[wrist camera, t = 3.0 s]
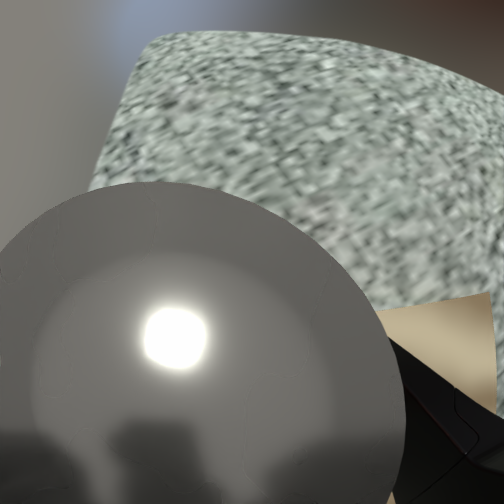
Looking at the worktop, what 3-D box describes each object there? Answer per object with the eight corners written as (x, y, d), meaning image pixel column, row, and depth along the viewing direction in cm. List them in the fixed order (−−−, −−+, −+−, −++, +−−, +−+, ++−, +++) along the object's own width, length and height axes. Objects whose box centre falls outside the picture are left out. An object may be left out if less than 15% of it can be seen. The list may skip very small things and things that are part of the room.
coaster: (484, 462, 13) (491, 465, 12) (318, 520, 12) (321, 527, 12) (481, 294, 16) (489, 292, 15) (308, 320, 16) (311, 319, 15)
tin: (282, 415, 14) (387, 587, 2) (170, 420, 14) (8, 556, 2) (274, 306, 16) (370, 170, 4) (163, 312, 16) (-31, 211, 3)
